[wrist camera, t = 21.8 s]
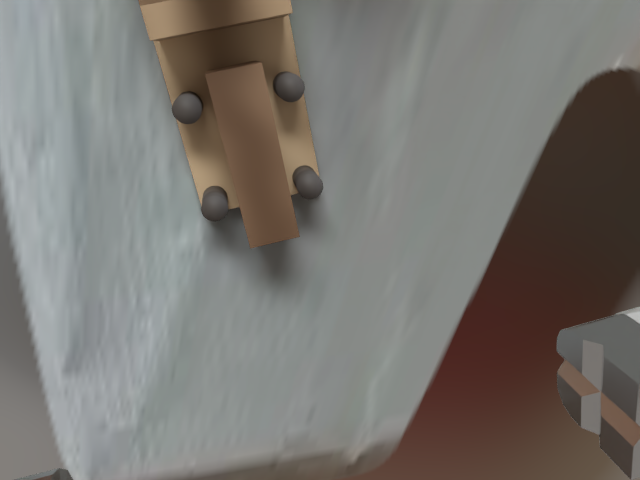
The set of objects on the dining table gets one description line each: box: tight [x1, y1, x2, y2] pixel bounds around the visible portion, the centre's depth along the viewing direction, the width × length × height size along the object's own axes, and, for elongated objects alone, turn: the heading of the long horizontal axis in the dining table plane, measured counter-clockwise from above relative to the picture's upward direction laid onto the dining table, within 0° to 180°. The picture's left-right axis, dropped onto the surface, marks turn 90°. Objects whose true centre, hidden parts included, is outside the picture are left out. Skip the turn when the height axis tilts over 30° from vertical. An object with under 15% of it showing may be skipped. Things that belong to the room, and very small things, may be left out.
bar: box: [205, 60, 300, 248], centre depth 30 cm, size 3×10×4 cm, turn 11°
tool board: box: [138, 0, 323, 221], centre depth 29 cm, size 8×18×5 cm, turn 11°
